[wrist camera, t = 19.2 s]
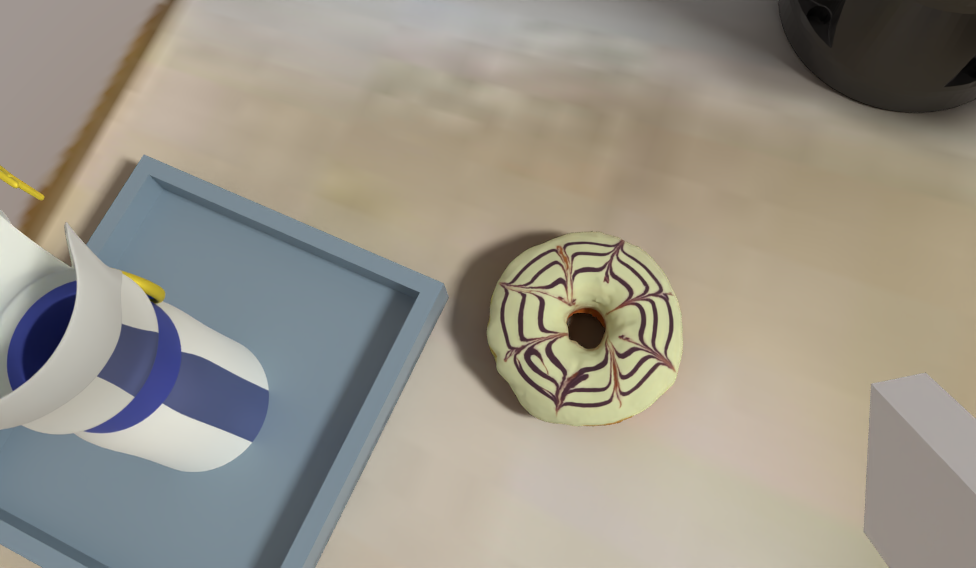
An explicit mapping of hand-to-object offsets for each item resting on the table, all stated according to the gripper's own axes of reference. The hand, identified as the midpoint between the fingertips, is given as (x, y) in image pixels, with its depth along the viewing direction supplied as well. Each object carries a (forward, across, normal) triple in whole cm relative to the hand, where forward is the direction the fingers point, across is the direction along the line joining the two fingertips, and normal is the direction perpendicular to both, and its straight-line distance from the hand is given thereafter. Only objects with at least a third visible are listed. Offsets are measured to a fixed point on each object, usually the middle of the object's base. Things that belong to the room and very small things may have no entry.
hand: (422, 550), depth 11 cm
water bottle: (+30, -15, -15) cm, 37 cm away
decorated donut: (+31, +7, -16) cm, 35 cm away
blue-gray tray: (+31, -15, -15) cm, 38 cm away
